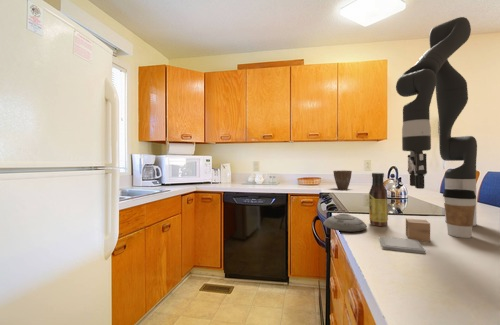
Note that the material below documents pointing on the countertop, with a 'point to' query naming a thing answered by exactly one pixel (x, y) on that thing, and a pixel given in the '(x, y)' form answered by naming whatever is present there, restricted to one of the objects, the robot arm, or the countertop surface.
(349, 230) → the flying saucer
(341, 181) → the plant pot
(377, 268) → the countertop surface
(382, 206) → the sauce bottle
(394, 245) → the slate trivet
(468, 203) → the coffee cup
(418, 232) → the walnut cube
